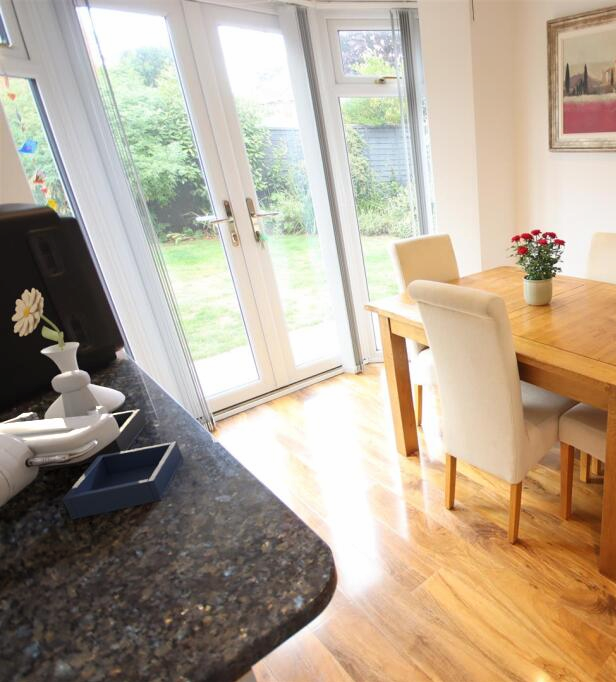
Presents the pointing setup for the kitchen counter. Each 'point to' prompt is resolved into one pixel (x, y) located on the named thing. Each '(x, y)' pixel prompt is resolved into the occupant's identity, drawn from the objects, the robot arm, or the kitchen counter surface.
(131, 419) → the tub
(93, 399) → the salt shaker
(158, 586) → the kitchen counter surface
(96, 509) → the tub
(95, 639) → the kitchen counter surface
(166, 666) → the kitchen counter surface
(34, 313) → the flower in vase
